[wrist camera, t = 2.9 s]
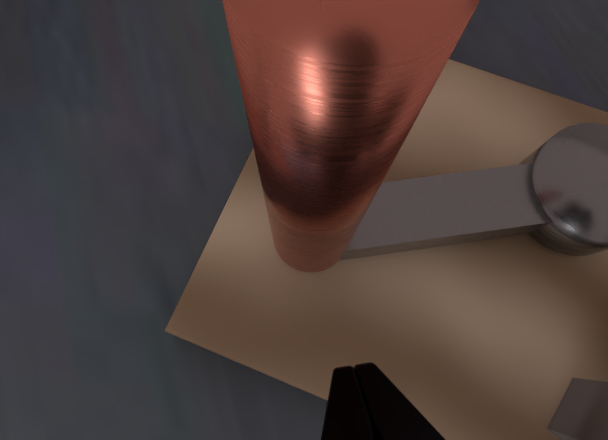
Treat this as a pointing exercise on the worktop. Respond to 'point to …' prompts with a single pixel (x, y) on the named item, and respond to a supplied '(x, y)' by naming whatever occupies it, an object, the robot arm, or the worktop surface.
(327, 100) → the lever
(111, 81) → the worktop surface
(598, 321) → the wooden board
